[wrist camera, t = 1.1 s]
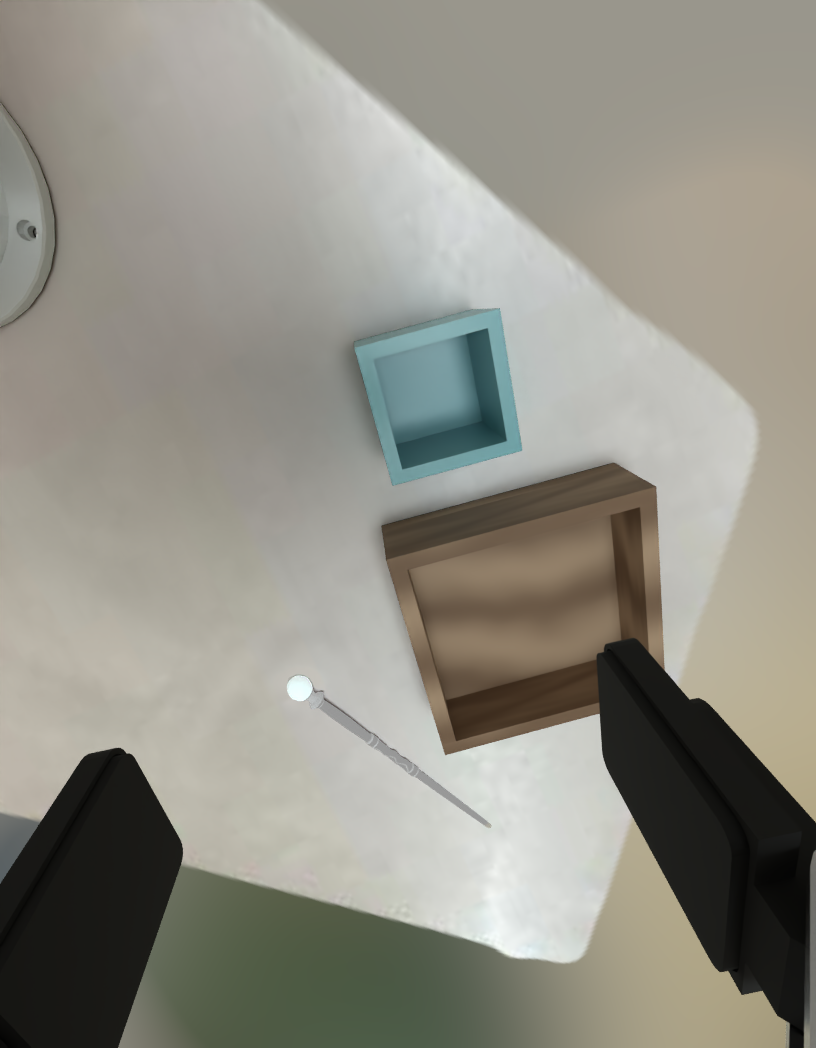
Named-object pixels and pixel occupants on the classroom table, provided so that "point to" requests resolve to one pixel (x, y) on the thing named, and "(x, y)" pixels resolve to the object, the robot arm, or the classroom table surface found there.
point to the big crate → (527, 599)
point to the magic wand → (369, 738)
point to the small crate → (441, 394)
